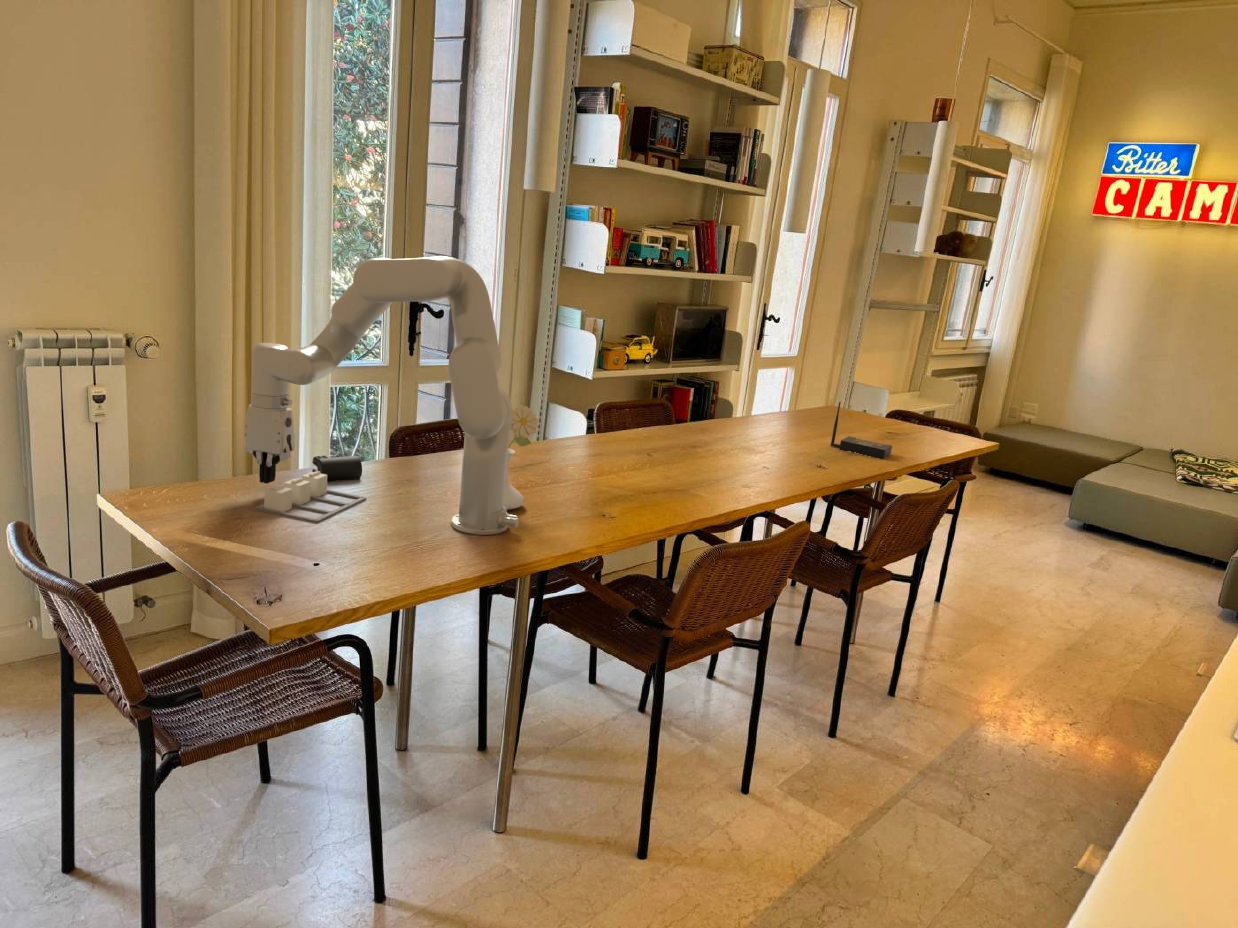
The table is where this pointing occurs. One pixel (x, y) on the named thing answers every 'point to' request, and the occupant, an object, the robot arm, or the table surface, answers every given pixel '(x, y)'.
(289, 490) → the cream block
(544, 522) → the table surface
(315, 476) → the cream block with bar
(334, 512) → the switch bank
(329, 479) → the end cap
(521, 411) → the flower in vase
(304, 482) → the cream block with ridge
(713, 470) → the table surface
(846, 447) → the wireless controller
